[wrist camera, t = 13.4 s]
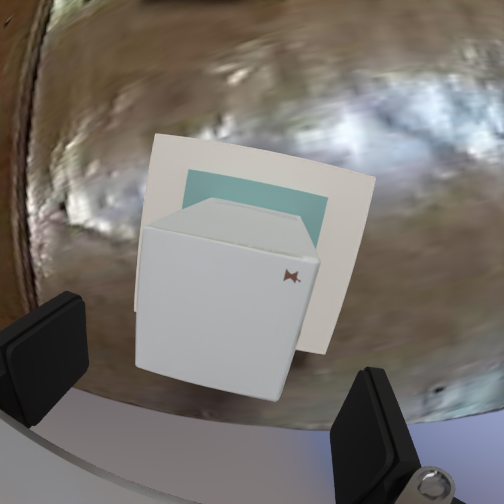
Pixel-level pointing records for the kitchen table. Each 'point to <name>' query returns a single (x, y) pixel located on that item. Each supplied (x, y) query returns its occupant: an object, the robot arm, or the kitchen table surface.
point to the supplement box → (224, 296)
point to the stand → (271, 197)
